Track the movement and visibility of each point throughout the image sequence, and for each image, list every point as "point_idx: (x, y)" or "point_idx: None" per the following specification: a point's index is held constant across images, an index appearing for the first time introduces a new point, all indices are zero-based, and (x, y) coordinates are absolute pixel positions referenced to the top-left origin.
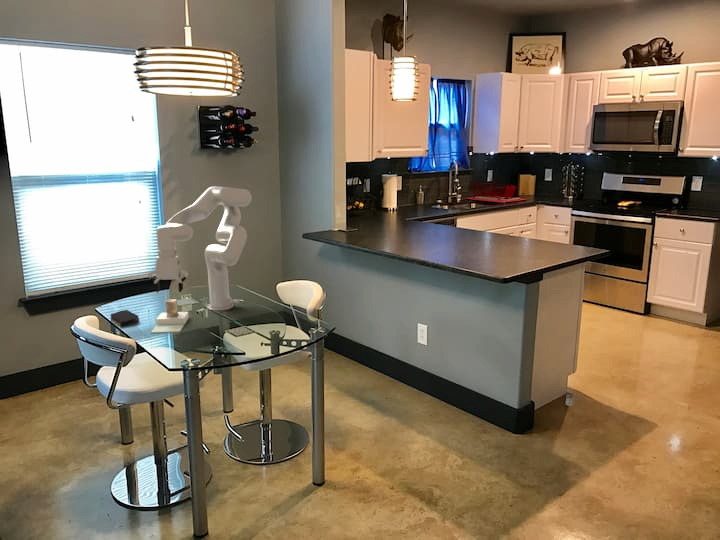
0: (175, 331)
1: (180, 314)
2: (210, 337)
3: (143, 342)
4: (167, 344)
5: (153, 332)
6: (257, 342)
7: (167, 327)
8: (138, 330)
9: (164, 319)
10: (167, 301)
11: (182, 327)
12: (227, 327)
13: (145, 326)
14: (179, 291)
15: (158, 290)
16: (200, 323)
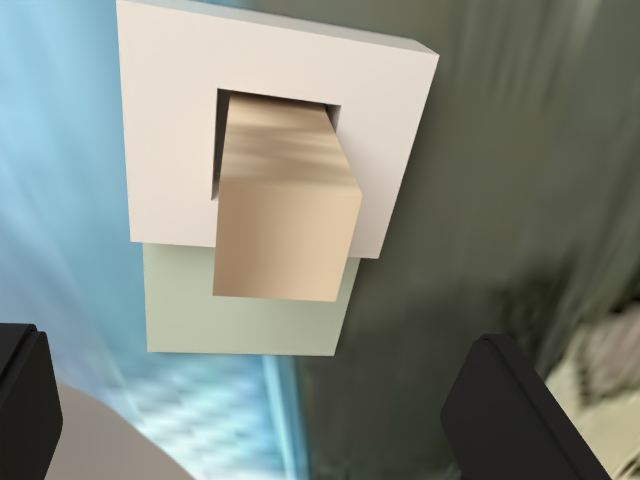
0: (307, 354)
1: (353, 143)
2: None
3: (144, 431)
4: (275, 454)
5: (165, 348)
6: (623, 456)
7: None
8: (15, 258)
9: (210, 245)
10: (234, 284)
11: (350, 287)
12: (607, 296)
13: (32, 173)
14: (450, 428)
15: (49, 435)
16: (482, 192)
